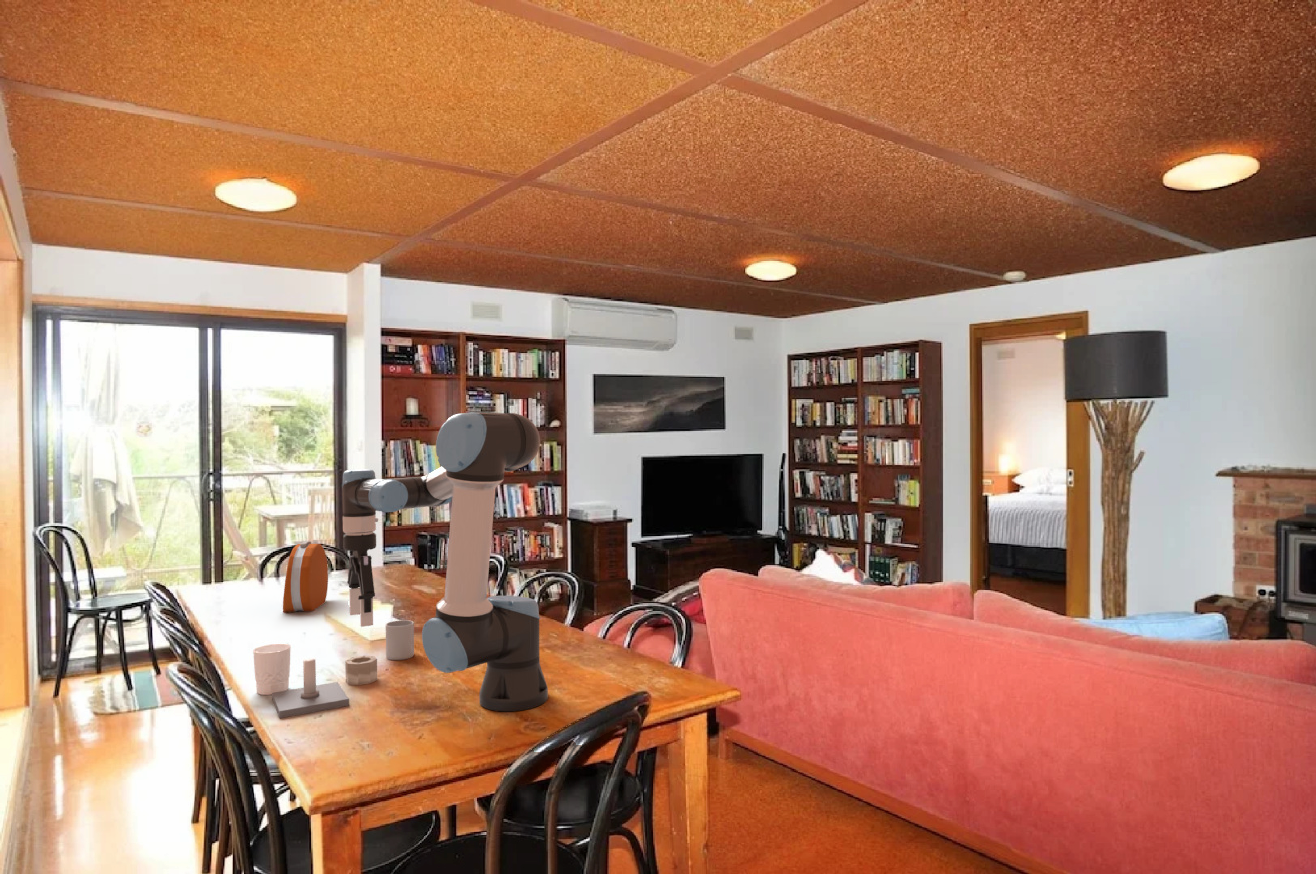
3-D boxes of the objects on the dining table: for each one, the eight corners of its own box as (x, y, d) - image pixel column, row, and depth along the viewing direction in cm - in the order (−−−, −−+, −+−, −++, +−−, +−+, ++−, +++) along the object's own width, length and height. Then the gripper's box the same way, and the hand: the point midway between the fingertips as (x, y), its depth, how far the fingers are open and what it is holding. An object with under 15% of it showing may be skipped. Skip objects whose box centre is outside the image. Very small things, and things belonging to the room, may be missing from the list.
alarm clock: (300, 600, 286) (299, 537, 286) (328, 599, 287) (327, 536, 287) (278, 614, 264) (276, 546, 264) (309, 613, 265) (307, 546, 265)
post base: (349, 705, 176) (348, 662, 176) (279, 718, 169) (278, 673, 169) (337, 688, 188) (336, 648, 188) (272, 699, 181) (271, 657, 181)
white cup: (266, 698, 182) (266, 654, 182) (247, 692, 186) (246, 650, 186) (298, 688, 189) (297, 646, 188) (278, 683, 193) (277, 642, 193)
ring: (379, 681, 193) (378, 661, 193) (349, 686, 189) (349, 665, 189) (373, 674, 199) (372, 654, 199) (344, 679, 195) (343, 658, 195)
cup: (389, 662, 209) (389, 628, 209) (380, 653, 218) (380, 620, 218) (417, 657, 213) (416, 624, 213) (407, 649, 221) (407, 617, 221)
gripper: (387, 537, 185) (388, 628, 185) (365, 526, 206) (366, 608, 207) (353, 540, 181) (354, 633, 181) (334, 528, 202) (335, 612, 203)
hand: (361, 620), depth 194 cm, fingers open, 13 cm apart
